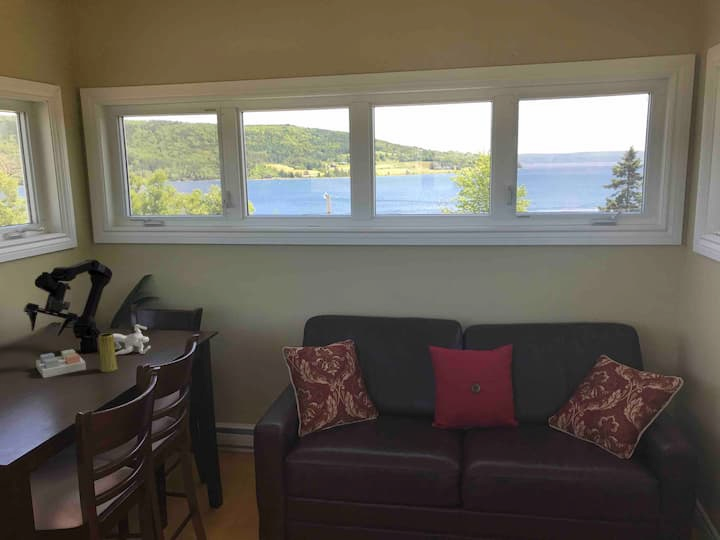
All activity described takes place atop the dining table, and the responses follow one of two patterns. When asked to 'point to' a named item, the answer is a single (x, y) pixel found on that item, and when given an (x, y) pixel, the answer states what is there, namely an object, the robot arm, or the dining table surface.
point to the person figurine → (131, 341)
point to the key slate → (46, 356)
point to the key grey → (51, 362)
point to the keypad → (60, 367)
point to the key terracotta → (72, 358)
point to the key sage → (67, 353)
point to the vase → (107, 352)
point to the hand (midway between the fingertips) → (45, 334)
